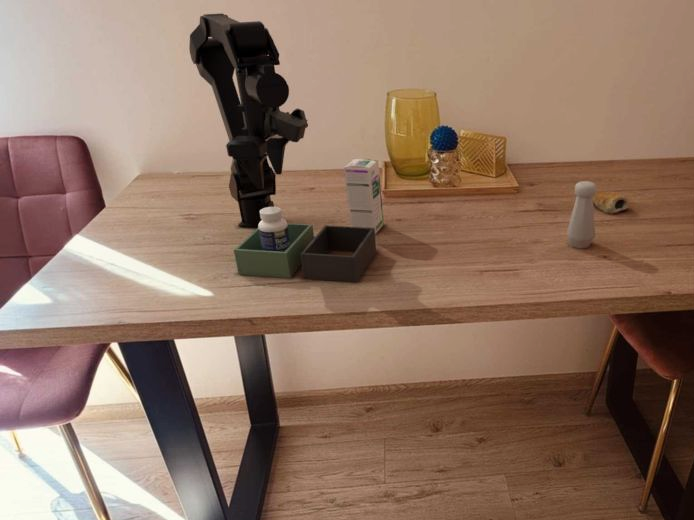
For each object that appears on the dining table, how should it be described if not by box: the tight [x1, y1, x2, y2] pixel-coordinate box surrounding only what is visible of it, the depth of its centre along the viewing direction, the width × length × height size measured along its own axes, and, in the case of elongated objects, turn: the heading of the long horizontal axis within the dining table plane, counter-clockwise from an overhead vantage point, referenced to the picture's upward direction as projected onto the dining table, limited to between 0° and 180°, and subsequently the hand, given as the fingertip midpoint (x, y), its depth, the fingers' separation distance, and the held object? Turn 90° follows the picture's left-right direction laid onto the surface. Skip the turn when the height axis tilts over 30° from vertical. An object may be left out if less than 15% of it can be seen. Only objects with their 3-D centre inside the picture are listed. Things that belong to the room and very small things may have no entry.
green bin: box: [233, 222, 315, 279], centre depth 125 cm, size 10×14×5 cm
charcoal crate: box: [300, 224, 377, 283], centre depth 123 cm, size 10×14×5 cm
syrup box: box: [343, 158, 385, 235], centre depth 136 cm, size 6×6×14 cm
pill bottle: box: [258, 206, 290, 252], centre depth 123 cm, size 5×5×10 cm
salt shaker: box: [566, 180, 598, 249], centre depth 129 cm, size 6×6×13 cm
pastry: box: [593, 191, 630, 215], centre depth 151 cm, size 9×7×4 cm
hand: (270, 181), depth 126 cm, fingers open, 9 cm apart
